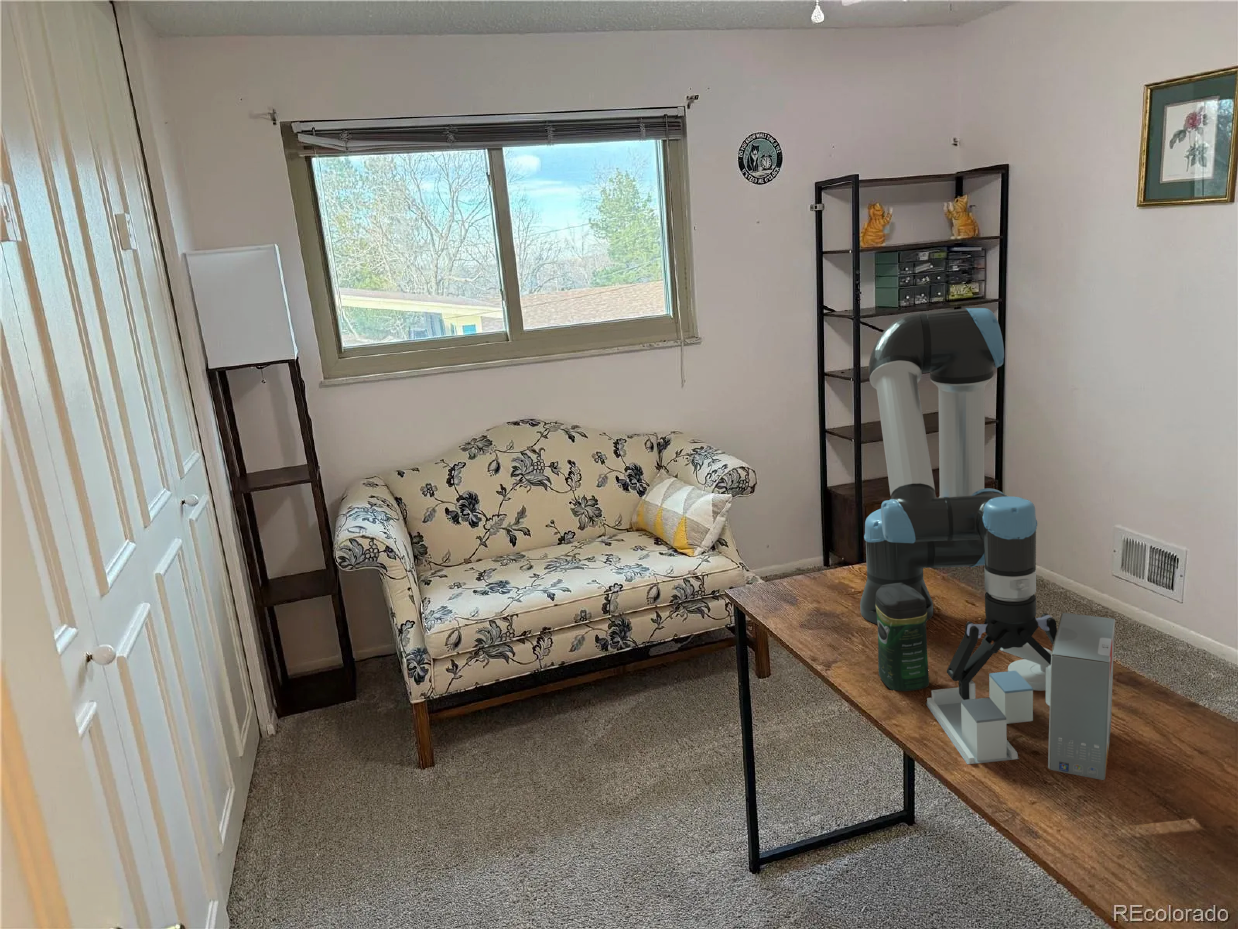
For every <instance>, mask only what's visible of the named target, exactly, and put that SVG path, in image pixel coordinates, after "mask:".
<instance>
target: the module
mask: <svg viewBox="0 0 1238 929" xmlns="http://www.w3.org/2000/svg"><path fill="white" fill-rule="evenodd" d="M988 677H989V678H988V679H989V680H988V682H989V692H988V694H989V697H990V699H991V700H992V701H993V702H994V703H995V705H996V706H997V707H998V708H999V709H1000V711H1001V712H1002V713H1003V714H1004V715H1005V717H1006V725H1007V724H1016V723H1026V722H1033V721H1034V713H1033V712H1034V709H1033V708H1034V705H1033V704H1034V690H1033V688H1032V687H1031V686H1030V685H1029V684H1028V683H1027V682H1026V681H1025V680H1024V679H1023V677H1022V676H1021V675H1020V674H1019V673H1018V672H1017V671H1008V670H1007V671H999V672H992V673H991V672H990V673H989V674H988Z"/></svg>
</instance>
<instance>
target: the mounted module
mask: <svg viewBox="0 0 1238 929" xmlns="http://www.w3.org/2000/svg"><path fill="white" fill-rule="evenodd" d="M961 721H962V740H963V742H964V743H965V744H966V746H967V747H968V749H969V750H970V751H971V753H972V754H973V756H974V757H975V758H976V760H977V761H983V760H992V759H1001V758H1007V741H1008V740H1007V724H1006V717H1005V715H1004V714H1003V713H1002V712H1001V711H1000V709H999V708H998V707H997V706H996V705H995V703H994V702H993V701H992V700H991V699H990V697H982V698H981V697H980V698H975V699H970V700H961Z"/></svg>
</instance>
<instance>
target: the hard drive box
mask: <svg viewBox="0 0 1238 929" xmlns="http://www.w3.org/2000/svg"><path fill="white" fill-rule="evenodd" d="M1115 624H1116V619H1115V618H1111V617H1105V616H1103V617H1102V616H1094V615H1087V614H1078V613H1069V612H1062V613H1061V615H1060V617H1059V621H1058V625H1057V633H1056V637H1055V641H1054V644H1053V645H1052V647H1051V648H1052V650H1051V651H1052V653H1051V682H1050V707H1049V714H1048V715H1049V717H1048V718H1049V719H1048V720H1049V721H1048V722H1049V725H1048V751H1047V752H1048V754H1047V756H1048V757H1047V759H1048V760H1047V765H1048V766H1047V768H1048V769H1049V770H1050V771H1054V772H1060V773H1064V774H1070V775H1074V776H1075V775H1076V776H1081V777H1084V778H1085V777H1086V778H1091V779H1096V780H1101V781H1106V780H1105V779H1106V775H1107V768H1108V767H1107V766H1108V759H1109V757H1108V756H1109V748H1110V740H1111V739H1110V738H1111V730H1112V708H1113V706H1112V704H1113V678H1114V676H1113V674H1114V653H1115V652H1114V648H1115V626H1116V625H1115Z"/></svg>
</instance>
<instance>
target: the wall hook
mask: <svg viewBox="0 0 1238 929" xmlns="http://www.w3.org/2000/svg"><path fill="white" fill-rule="evenodd" d="M1043 648H1044V649H1045V650H1046V651H1047V652H1049V653H1050V654H1051V653H1052V650H1050V649H1048V648H1046V647H1043ZM999 650H1000V651H1002V652H1005V653H1007V654H1010V655H1013V656H1015V657H1018V658H1021V659H1018V660H1015V661H1013V662H1011V663H1010V664H1008V667H1007V671H1017V672H1018V673H1019V674H1020V675H1021V676H1022V677H1023V679H1024V680H1025V681H1026V682H1027V683H1028V684H1029V685H1030V686H1031V687H1032V688H1033V691H1038V692H1040V691H1044V692H1046V667H1051V665H1050V664H1049V663H1048V662H1047V661H1046V660H1045V659H1044V658H1043V657H1042V656H1041V655H1040V654H1039V653H1037V652H1036V651H1035V650H1034V649H1033V648H1032V647H1031V646H1030V645H1029V644H1028V643H1026V644H1025V645H1023V647H1020V648H1017V647H1012V648H1009V649H1003V648H1000V649H999Z"/></svg>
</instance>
